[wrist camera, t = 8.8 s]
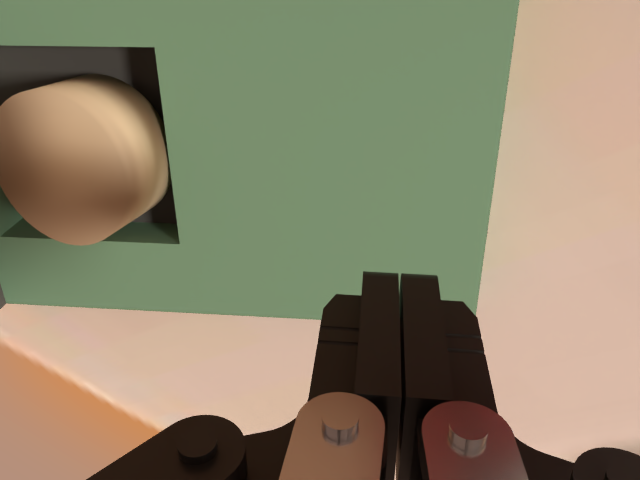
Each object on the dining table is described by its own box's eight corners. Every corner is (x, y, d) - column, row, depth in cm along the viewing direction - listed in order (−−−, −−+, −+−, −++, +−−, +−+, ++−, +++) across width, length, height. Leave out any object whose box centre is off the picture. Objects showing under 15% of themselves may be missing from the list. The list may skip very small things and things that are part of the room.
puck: (35, 72, 23) (-30, 88, 20) (161, 75, 21) (108, 92, 19) (66, 208, 25) (13, 237, 23) (183, 220, 24) (138, 253, 21)
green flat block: (-93, -61, 21) (-218, -58, 17) (515, -64, 19) (553, -61, 15) (5, 278, 28) (-67, 344, 23) (467, 300, 26) (484, 377, 21)
